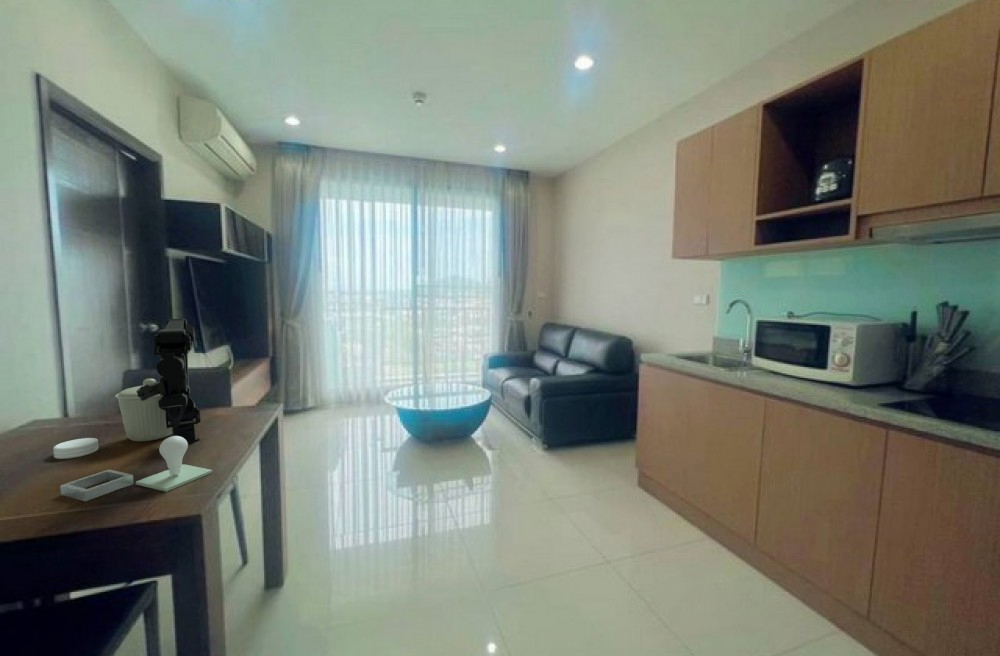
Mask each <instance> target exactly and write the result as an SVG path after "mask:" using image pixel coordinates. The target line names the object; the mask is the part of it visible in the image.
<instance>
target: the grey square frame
mask: <svg viewBox="0 0 1000 656" xmlns="http://www.w3.org/2000/svg"><path fill="white" fill-rule="evenodd" d="M107 481H108V482H107ZM97 484H98V485H97ZM131 485H134V474H130V473H126V472H121V471H118V470H112V469H106V470H104V471H100V472H97V473H94V474H90V475H88V476H85V477H81V478H79V479H76V480H73V481H69V482H66V483H64V484H61V485H60V487H59V488H60V496H64V497H68V498H70V499H75V500H78V501H83V502H88V501H91V500H94V499H97V498H99V497H101V496H102V497H103V496H104V495H108V494H110V493H113V492H115V491H118V490H120V489H123V488H126V487H130V486H131ZM92 486H93V487H92ZM89 487H90V488H89Z"/></svg>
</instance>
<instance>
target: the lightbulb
mask: <svg viewBox="0 0 1000 656" xmlns="http://www.w3.org/2000/svg"><path fill="white" fill-rule="evenodd" d="M188 447H189V444H188V443H187V441H186V440H185V439H184V438H183V437H180V436H173V435H172V436H170V437H169V436H168V437H166V438H164V440H163V441H162V442H161V443H160V446H159V449H158V450H159V454H160V455H161V456H162V457H163V459H164V460H165V462H166V466H167V468H168V470H169V474H170V475H173V476H176V475H178V474H179V473H180V472H181V465H182V464H183V457H184V455H185V454H186V452H187V450H188Z"/></svg>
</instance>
